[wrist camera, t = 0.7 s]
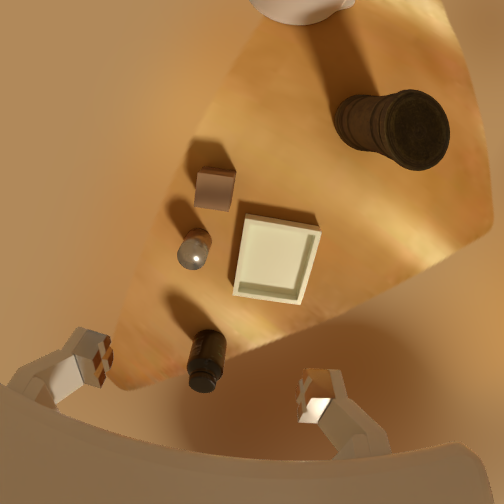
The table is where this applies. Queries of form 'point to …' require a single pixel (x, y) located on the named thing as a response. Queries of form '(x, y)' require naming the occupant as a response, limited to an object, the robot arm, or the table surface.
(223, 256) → the table surface
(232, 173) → the walnut block
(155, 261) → the table surface
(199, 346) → the supplement bottle
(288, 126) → the table surface
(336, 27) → the table surface
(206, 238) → the metal cylinder
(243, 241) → the tray
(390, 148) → the container
